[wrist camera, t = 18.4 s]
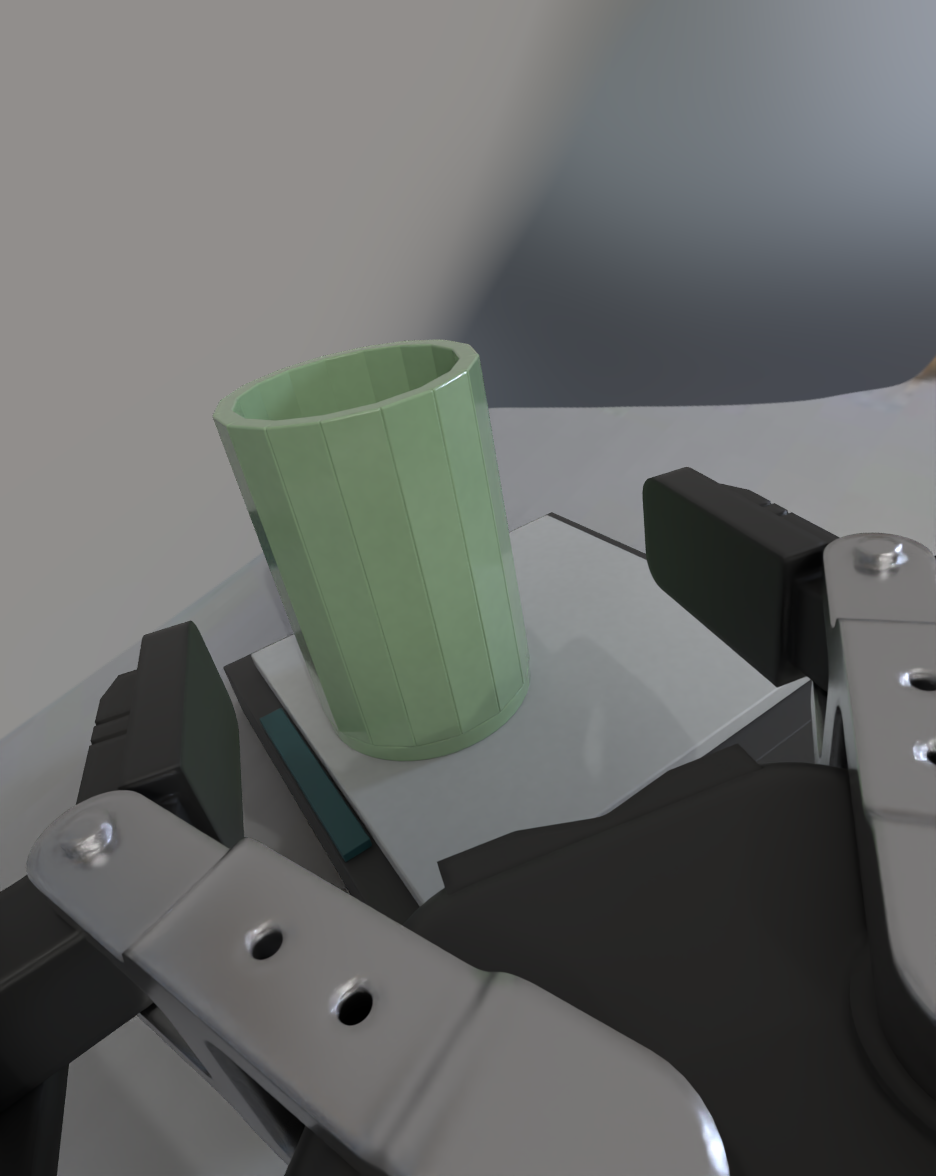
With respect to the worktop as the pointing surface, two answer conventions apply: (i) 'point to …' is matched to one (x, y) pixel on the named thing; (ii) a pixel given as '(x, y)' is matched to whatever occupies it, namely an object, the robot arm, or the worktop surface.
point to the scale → (529, 722)
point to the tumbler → (387, 541)
